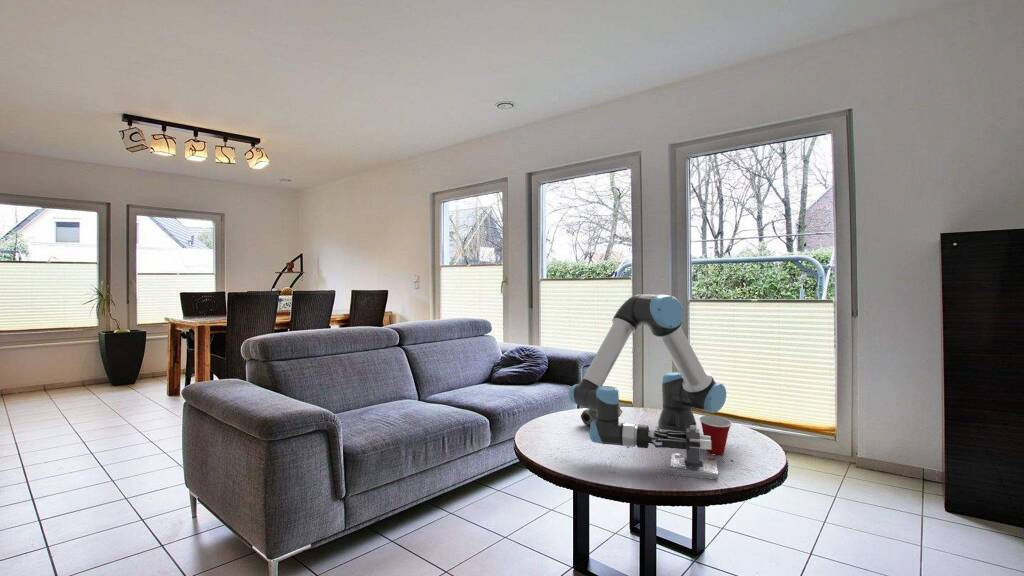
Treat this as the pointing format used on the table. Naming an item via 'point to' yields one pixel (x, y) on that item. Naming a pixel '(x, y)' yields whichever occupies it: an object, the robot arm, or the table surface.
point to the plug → (693, 453)
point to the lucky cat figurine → (591, 416)
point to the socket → (694, 467)
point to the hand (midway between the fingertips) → (710, 442)
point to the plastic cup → (716, 432)
